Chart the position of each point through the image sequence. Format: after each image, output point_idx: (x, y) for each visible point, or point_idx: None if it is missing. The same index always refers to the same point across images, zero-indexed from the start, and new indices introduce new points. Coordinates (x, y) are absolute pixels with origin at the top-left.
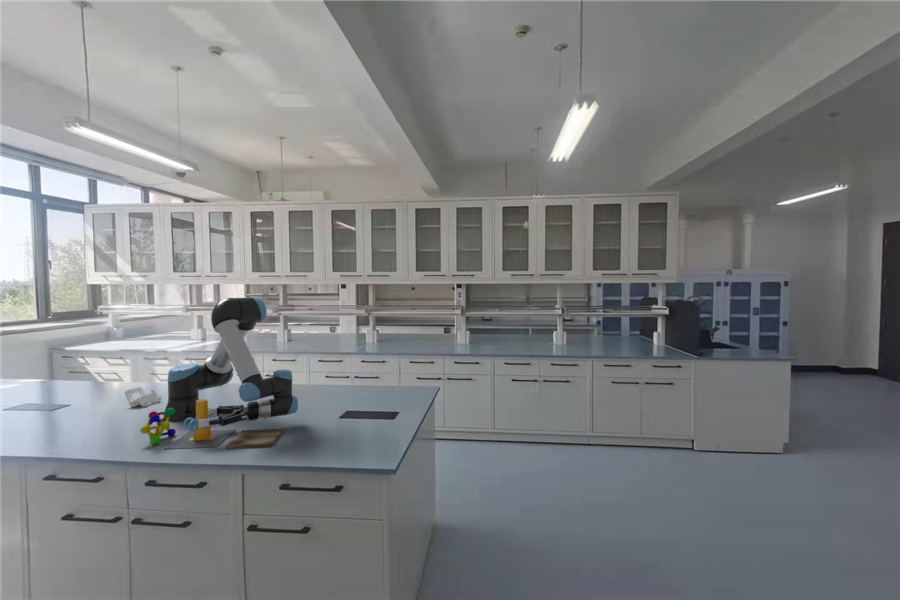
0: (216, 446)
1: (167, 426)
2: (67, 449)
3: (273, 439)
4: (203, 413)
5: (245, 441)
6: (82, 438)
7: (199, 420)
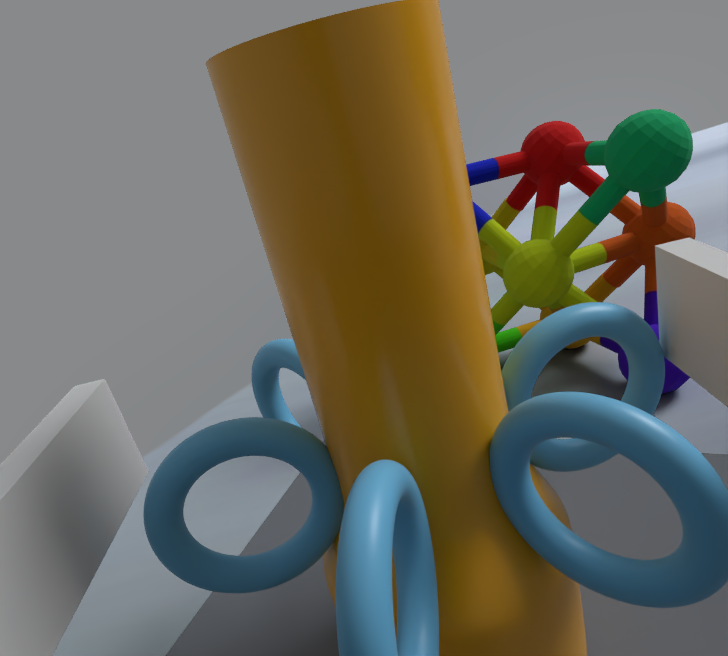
0: None
1: (516, 289)
2: (526, 222)
3: None
4: (289, 322)
5: None
6: None
7: (70, 393)
